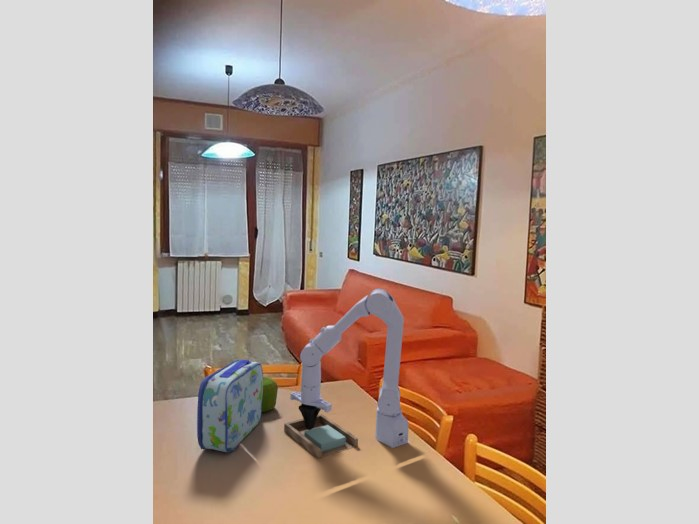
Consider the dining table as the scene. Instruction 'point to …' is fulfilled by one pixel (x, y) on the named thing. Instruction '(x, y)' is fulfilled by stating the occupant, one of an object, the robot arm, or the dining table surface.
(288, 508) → the dining table surface
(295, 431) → the box
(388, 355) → the robot arm
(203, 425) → the lunch box
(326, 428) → the teal square tile
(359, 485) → the dining table surface
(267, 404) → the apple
